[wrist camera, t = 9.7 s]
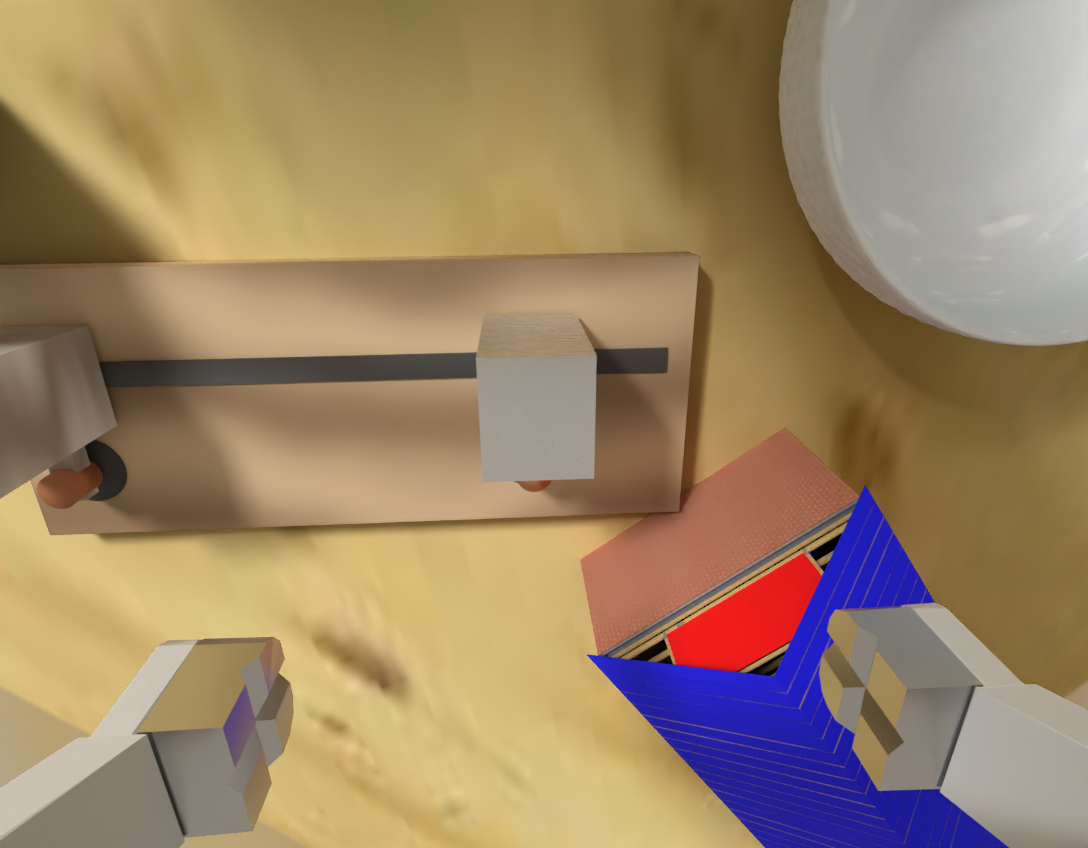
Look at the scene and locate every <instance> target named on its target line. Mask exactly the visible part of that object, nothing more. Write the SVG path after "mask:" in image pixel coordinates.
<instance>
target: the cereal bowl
mask: <svg viewBox="0 0 1088 848" xmlns="http://www.w3.org/2000/svg"><path fill="white" fill-rule="evenodd" d="M779 85H780V92H779V96H778V99H779V105H780V109H779V118H780V132H781V136H782V147H783V150H784V153H785V161H786V164H787V167H788V173H789V178H790V180H791V182H792V185H793V189H794V191H795V193H796V196H797V201H798V204H799V205H800V207H801V208H802V209H803V213H804V215H805V218H806V220H807V221H808V222H809V226H810V229H811V230H812V231H813V232H814V233H815V234H816V236H817V238H818V240H819V242H820V243H821V244H822V245H823V247H824V249H825V250H826V251H827V252H828V253H829V254H830V255H831V256H832V257H833V259H834V261H835V263H836V264H838V265H839V266H840V267H841V268H842V269H843V270H844V271H845V272H846V273H847V274H848V275H850V277H851V278H852V280H854V281H855V282H857V283H858V284H859V285H860V286H862V287H863V289H864V290H866V291H868V292H870V293H872V294H873V295H874V296H876V297H877V298H878V299H879V300H880V301H881V302H884V303H886V304H887V305H890V306H892V307H894V308H896V309H898V310H899V311H900V312H901V313H902V314H905V315H908V316H912V317H914V318H916V319H917V320H919V321H920V322H922V323H925V324H930V325H933V326H935V327H937V328H939V329H942V330H944V331H947V332H954V333H957V334H959V335H962V336H965V337H970V338H976V339H980V340H983V341H987V342H991V343H1000V344H1009V345H1018V346H1051V345H1062V344H1072V343H1078V342H1084V341H1088V0H793V2H792V5H791V7H790V16H789V18H788V21H787V29H786V35H785V37H784V40H783V54H782V58H781V72H780V76H779Z"/></svg>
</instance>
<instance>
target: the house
mask: <svg viewBox="0 0 1088 848" xmlns="http://www.w3.org/2000/svg"><path fill="white" fill-rule="evenodd" d="M835 527H837V528H836V529H835V530H833V531H831V532H830V533H828V534H826V535H825V536H823V537H821V538H820V539H818V540H816V541H815V542H813V543H811V544H810V545H808V546H806V547H805V548H803V549H801V550H800V551H798V552H796V553H795V554H793V555H791V556H790V557H788V558H786V559H785V560H783V561H781V562H780V563H778V564H776V565H775V566H773V567H771V568H770V569H768V570H766V571H765V572H763V573H761V574H760V575H758V576H756V577H755V578H753V579H751V580H750V581H748V582H746V583H745V584H743V585H741V586H740V587H738V588H736V589H735V590H733V591H731V592H730V593H728V594H726V595H725V596H723V597H721V598H720V599H718V600H716V601H715V602H713V603H711V604H710V605H708V606H706V607H705V608H703V609H701V610H700V611H698V612H696V613H695V614H693V615H691V616H690V617H688V618H686V619H685V620H683V621H681V622H679V623H678V624H676V625H674V626H673V627H671V628H669V629H668V630H666V631H664V632H663V633H661V634H659V635H658V636H655V635H657V634H658V633H660V632H662V631H663V630H665V629H667V628H668V627H670V626H672V625H673V624H675V623H677V622H678V621H680V620H682V619H683V618H685V617H687V616H688V615H690V614H692V613H693V612H695V611H697V610H698V609H700V608H702V607H703V606H705V605H707V604H708V603H710V602H712V601H713V600H715V599H717V598H718V597H720V596H722V595H723V594H725V593H727V592H728V591H730V590H732V589H733V588H735V587H737V586H738V585H740V584H742V583H743V582H745V581H747V580H748V579H750V578H752V577H753V576H755V575H757V574H758V573H760V572H762V571H763V570H765V569H767V568H768V567H770V566H772V565H773V564H775V563H777V562H778V561H780V560H782V559H783V558H785V557H787V556H788V555H790V554H792V553H793V552H795V551H797V550H798V549H800V548H802V547H803V546H805V545H807V544H808V543H810V542H812V541H813V540H815V539H817V538H818V537H820V536H822V535H823V534H825V533H827V532H828V531H830V530H832V529H833V528H835ZM839 534H841V537H840V539H839V541H838V543H837V546H836V548H835V550H834V551H832V552H831V553H829V554H827V555H826V556H824V557H822V558H821V559H819V560H817V561H815V559H814V558H813V557H812V555H811V554H810V553H809V552H811V551H813V550H814V549H816V548H818V547H819V546H821V545H823V544H824V543H826V542H828V541H829V540H831V539H833V538H834V537H836V536H838V535H839ZM580 561H581V566H582V571H583V577H584V582H585V587H586V592H587V598H588V603H589V608H590V614H591V619H592V624H593V630H594V635H595V640H596V646H597V651H598V656H595V655H587V656H588V657H589V658H590V659H591V660H592V661H593V662H594V663H595V664H596V665H597V666H598V667H599V669H600V670H601V671H602V672H603V673H604V674H605V675H606V676H607V677H608V678H609V679H610V680H611V682H612V683H613V684H614V685H615V686H616V687H617V688H618V689H619V690H620V691H621V692H622V693H623V694H624V696H625V697H626V698H627V699H628V700H629V701H630V702H631V703H632V704H633V705H634V706H635V707H636V709H637V710H638V711H639V712H640V713H641V714H642V715H643V716H644V717H645V718H646V719H647V720H648V721H649V723H650V724H651V725H652V726H653V727H654V728H655V729H656V730H657V731H658V732H659V733H660V734H661V736H662V737H663V738H664V739H665V740H666V741H667V742H668V743H669V744H670V745H671V746H672V747H673V748H674V750H675V751H676V752H677V753H678V754H679V755H680V756H681V757H682V758H683V759H684V760H685V761H686V763H687V764H688V765H689V766H690V767H691V768H692V769H693V770H694V771H695V772H696V773H697V774H698V776H699V777H700V778H701V779H702V780H703V781H704V782H705V783H706V784H707V785H708V786H709V787H710V788H711V790H712V791H713V792H714V793H715V794H716V795H717V796H718V797H719V798H720V799H721V800H722V801H723V803H724V804H725V805H726V806H727V807H728V808H729V809H730V810H731V811H732V812H733V813H734V814H735V815H736V817H737V818H738V819H739V820H740V821H741V822H742V823H743V824H744V825H745V826H746V827H747V828H748V830H749V831H750V832H751V833H752V834H753V835H754V836H755V837H756V838H757V839H758V840H759V841H760V842H761V844H762V845H763V846H764V847H765V848H1009V847H1008V846H1006V845H1005V844H1004V843H1003V842H1001V841H1000V840H999V839H998V838H996V837H995V836H994V835H993V834H991V833H990V832H989V831H988V830H986V829H985V828H984V827H983V826H981V825H980V824H979V823H978V822H976V821H975V820H974V819H973V818H972V817H970V816H969V815H968V814H967V813H965V812H964V811H963V810H962V809H960V808H959V807H958V806H957V805H955V804H954V803H953V802H952V801H950V800H949V799H948V798H947V797H945V796H944V795H943V794H942V793H940V790H941V789H919V790H890V791H878V790H877V788H876V786H875V785H874V783H873V781H872V780H871V778H870V776H869V775H868V773H867V772H866V770H865V768H864V767H863V765H862V763H861V762H860V760H859V758H858V757H857V755H856V753H855V752H854V750H853V749H852V745H853V739H854V733H853V732H851V731H850V730H848V729H847V728H845V727H844V726H843V725H841V724H840V723H838V722H837V721H836V720H835V719H834V717H833V715H832V713H831V712H830V710H829V708H828V706H827V704H826V701H825V699H824V696H823V693H822V689H821V682H820V675H819V670H820V664H821V658H822V654H823V653H824V652H825V651H826V650H827V649H828V648H829V647H830V646H831V645H832V644H833V643H834V641H833V639H832V638H831V636H830V635H829V633H828V632H827V628H828V624H829V620H830V617H831V615H832V614H833V613H834V611H835V610H836V609H853V608H871V607H889V606H902V605H910V604H924V603H935V602H934V600H933V599H932V597H931V595H930V593H929V592H928V590H927V588H926V587H925V585H924V583H923V582H922V580H921V578H920V577H919V575H918V573H917V571H916V570H915V568H914V566H913V565H912V563H911V561H910V560H909V558H908V556H907V555H906V553H905V551H904V550H903V548H902V546H901V544H900V543H899V541H898V539H897V538H896V536H895V534H894V533H893V531H892V529H891V528H890V526H889V524H888V523H887V521H886V519H885V517H884V516H883V514H882V512H881V511H880V509H879V507H878V506H877V504H876V502H875V501H874V499H873V497H872V496H871V494H870V492H869V490H868V489H867V487H866V485H865V487H864V489H863V491H862V493H861V495H860V496H859V495H858V494H857V493H856V492H855V491H854V490H853V489H852V488H850V487H849V486H848V485H847V484H846V483H845V482H844V481H843V480H842V479H840V478H839V477H838V476H837V475H836V474H835V473H834V472H833V471H832V470H831V469H829V468H828V467H827V466H826V465H825V464H824V463H823V462H822V461H821V460H819V459H818V458H817V457H816V456H815V455H814V454H813V453H812V452H811V451H809V450H808V449H807V448H806V447H805V446H804V445H803V444H802V443H801V442H799V441H798V440H797V439H796V438H795V437H794V436H793V435H792V434H791V433H789V432H788V431H787V430H786V429H785V428H784V429H783V430H781V431H780V432H778V433H777V434H775V435H773V436H772V437H770V438H769V439H767V440H766V441H764V442H763V443H761V444H759V445H758V446H756V447H755V448H753V449H752V450H750V451H749V452H747V453H745V454H744V455H742V456H741V457H739V458H738V459H736V460H735V461H733V462H731V463H730V464H728V465H727V466H725V467H724V468H722V469H721V470H719V471H717V472H716V473H714V474H713V475H711V476H710V477H708V478H707V479H705V480H703V481H702V482H700V483H699V484H697V485H696V486H694V487H693V488H691V489H690V490H688V491H686V492H685V493H683V494H682V495H680V505H679V511H677V512H654V513H652V514H651V515H649V516H648V517H646V518H644V519H643V520H641V521H640V522H638V523H637V524H635V525H634V526H632V527H630V528H629V529H627V530H626V531H624V532H623V533H621V534H620V535H618V536H616V537H615V538H613V539H612V540H610V541H609V542H607V543H606V544H604V545H603V546H601V547H599V548H598V549H596V550H595V551H593V552H592V553H590V554H589V555H587V556H585V557H584V558H582V559H581V560H580ZM827 562H828V564H827V567H826V569H825V571H824V572H823V570H822V569H821V568H820V566H822V565H824V564H825V563H827ZM663 639H664V641H665V642H666V645H667V648H668V649H666V648H665V647H664V645H663V644H662V643H661V642H660V641H662V640H663ZM789 642H790V643H789ZM787 643H789V644H787ZM786 644H787V645H786ZM784 645H785V646H784ZM782 646H783V647H782ZM780 647H782V648H780ZM779 648H780V649H779ZM777 649H778V650H777ZM775 650H776V651H775ZM786 650H787V651H786ZM773 651H775V652H773ZM784 651H786V653H785V655H784V656H782V657H781V658H779V659H777V660H775V661H774V662H772V663H770V664H768V665H766V666H765V667H763V668H761V669H759V670H758V671H756V672H754V673H752V674H748V673H747V672H749V671H751V670H753V669H755V668H756V667H758V666H760V665H762V664H763V663H765V662H767V661H769V660H770V659H772V658H774V657H776V656H777V655H779V654H781V653H783V652H784ZM771 652H773V653H771ZM770 653H771V654H770ZM768 654H769V655H768ZM766 655H768V656H766ZM764 656H766V657H764ZM763 657H764V658H763ZM761 658H762V659H761ZM759 659H761V660H759ZM757 660H759V661H757ZM756 661H757V662H756ZM754 662H755V663H754ZM752 663H754V664H752ZM750 664H752V665H750ZM749 665H750V666H749ZM747 666H748V667H747ZM745 667H747V668H745ZM777 667H778V669H777V672H776V673H774V674H772V675H770V676H765V675H764V674H766V673H768V672H770V671H771V670H773V669H775V668H777ZM743 668H745V669H743ZM742 669H743V670H742ZM740 670H741V671H740ZM738 671H740V672H738Z"/></svg>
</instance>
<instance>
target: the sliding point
mask: <svg viewBox="0 0 1088 848" xmlns="http://www.w3.org/2000/svg"><path fill="white" fill-rule="evenodd" d="M596 364H597V355H596V353H595V351H594V349H593V347H592V345H591V343H590V341H589V339H588V337H587V335H586V333H585V331H584V329H583V327H582V325H581V323H580V321H579V319H578V317H577V315H576V314H535V315H492V316H484V317H483V323H482V328H481V333H480V339H479V344H478V349H477V355H476V371H477V389H478V407H479V425H480V443H481V461H482V479H483V482H509V481H518V484H519V485H520V486H521V487H522V488H523V489H525V490H527V491H530V492H538V491H542V490H544V489H545V488H547V487H548V486H549V484H550V483H551V480H566V479H594V461H595V413H596Z"/></svg>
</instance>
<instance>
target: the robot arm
mask: <svg viewBox="0 0 1088 848" xmlns="http://www.w3.org/2000/svg"><path fill="white" fill-rule="evenodd" d="M827 632H828V633H829V635H830V636H831V638H832V639H833V641H834V643H833V644H832V645H831V646H830V647H829V648H828V649H827V650H826V651H825V652H824V653H823V654H822V658H821V664H820V670H819V675H820V682H821V689H822V693H823V696H824V699H825V701H826V704H827V706H828V708H829V710H830V712H831V713H832V715H833V717H834V719H835V720H836V721H837V722H838V723H840V724H841V725H843V726H844V727H845V728H847V729H848V730H850V731H851V732H853V733H854V739H853V745H852V749H853V750H854V752H855V753H856V755H857V757H858V758H859V760H860V762H861V763H862V765H863V767H864V768H865V770H866V772H867V773H868V775H869V776H870V778H871V780H872V781H873V783H874V785H875V786H876V788H877V790H878V791H890V790H919V789H941V790H940V793H942V794H943V795H944V796H945V797H947V798H948V799H949V800H950V801H952V802H953V803H954V804H955V805H957V806H958V807H959V808H960V809H962V810H963V811H964V812H965V813H967V814H968V815H969V816H970V817H972V818H973V819H974V820H975V821H976V822H978V823H979V824H980V825H981V826H983V827H984V828H985V829H986V830H988V831H989V832H990V833H991V834H993V835H994V836H995V837H996V838H998V839H999V840H1000V841H1001V842H1003V843H1004V844H1005V845H1006V846H1008V847H1009V848H1088V710H1087V709H1085V708H1083V707H1081V706H1079V705H1077V704H1075V703H1073V702H1071V701H1069V700H1067V699H1065V698H1063V697H1061V696H1059V695H1057V694H1055V693H1053V692H1051V691H1049V690H1047V689H1044V688H1042V687H1040V686H1038V685H1036V684H1023V683H1022V682H1021V681H1020V680H1019V679H1018V678H1017V677H1016V676H1015V675H1014V674H1013V673H1012V672H1011V671H1010V670H1009V669H1008V668H1007V667H1006V666H1005V665H1004V664H1003V663H1002V662H1001V661H1000V660H999V659H998V658H997V657H996V656H995V655H994V654H993V653H992V652H991V651H990V650H989V649H988V648H987V647H986V646H985V645H984V644H983V643H982V642H980V641H979V640H978V639H977V638H976V637H975V636H974V635H973V634H972V633H971V632H970V631H969V630H968V629H967V628H966V627H965V626H964V625H963V624H962V623H961V622H960V621H959V620H958V619H957V618H956V617H955V616H954V615H953V614H952V613H951V612H950V611H949V610H948V609H947V608H945V607H944V606H941V605H939V604H937V603H924V604H910V605H902V606H889V607H871V608H853V609H836V610H835V611H834V613H833V614H832V615H831V617H830V620H829V624H828V628H827ZM284 659H285V658H284V654H283V651H282V647H281V643H280V641H279V640H278V639H276V638H274V637H260V638H221V639H203V640H171V641H166V642H164V643H163V644H161V645H159V646H158V647H157V648H156V649H155V650H154V651H153V653H152V654H151V656H150V657H149V658H148V660H147V661H146V662H145V664H144V665H143V666H142V668H141V669H140V670H139V672H138V673H137V674H136V676H135V677H134V678H133V680H132V681H131V682H130V684H129V685H128V687H127V688H126V689H125V691H124V692H123V693H122V695H121V696H120V697H119V699H118V700H117V701H116V703H115V704H114V705H113V707H112V708H111V709H110V711H109V712H108V713H107V715H106V716H105V718H104V719H103V720H102V722H101V723H100V724H99V726H98V727H97V728H96V730H95V731H94V732H93V734H92V735H91V736H90V737H85V738H77V739H75V740H74V741H73V742H71V743H69V744H68V745H66V746H64V747H63V748H61V749H60V750H58V751H57V752H55V753H54V754H52V755H51V756H49V757H48V758H46V759H44V760H43V761H41V762H40V763H38V764H37V765H35V766H34V767H32V768H31V769H29V770H27V771H26V772H24V773H23V774H21V775H20V776H18V777H17V778H15V779H14V780H12V781H10V782H9V783H8V784H6V785H4V786H3V787H1V788H0V848H179V847H180V846H181V845H182V844H183V843H184V838H185V837H196V836H206V835H216V834H228V833H238V832H248V831H253V829H254V827H255V824H256V822H257V819H258V817H259V814H260V811H261V809H262V806H263V804H264V801H265V799H266V796H267V793H268V791H269V788H270V786H271V779H270V775H269V771H268V766H269V765H270V764H272V763H273V762H274V761H275V760H276V759H277V758H278V757H279V756H280V755H282V754H283V752H284V749H285V746H286V744H287V741H288V738H289V735H290V730H291V724H292V718H293V694H292V689H291V685H290V682H289V681H287V680H286V679H285V678H284V677H283V676H282V675H280V674H279V670H280V668H281V666H282V664H283V661H284Z"/></svg>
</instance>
